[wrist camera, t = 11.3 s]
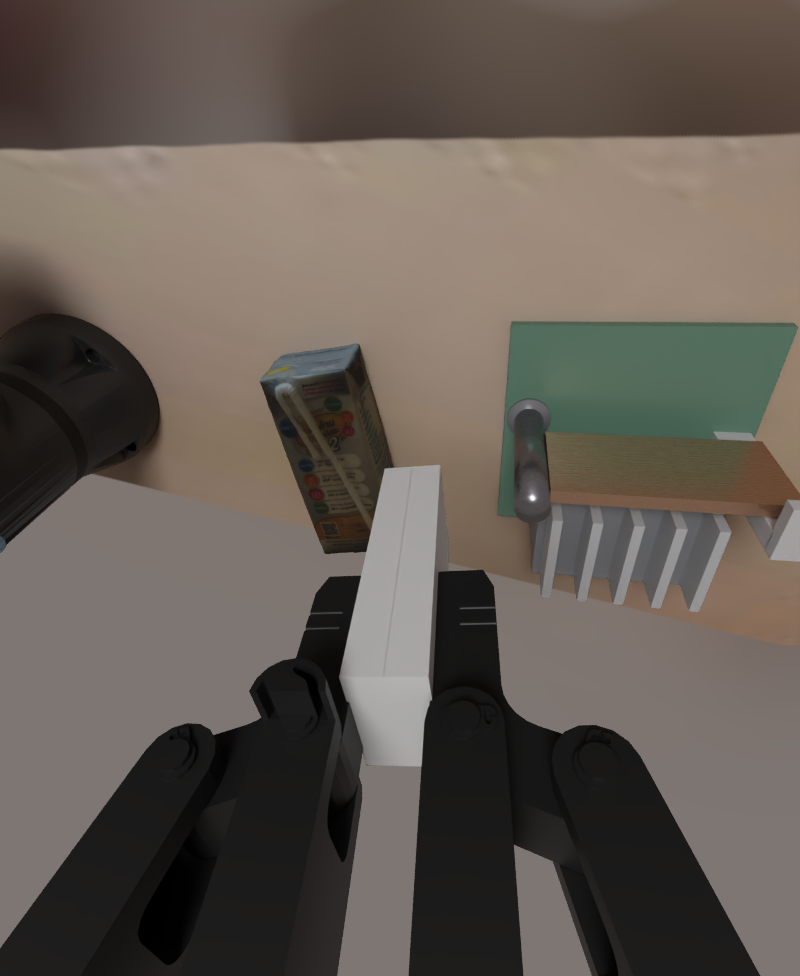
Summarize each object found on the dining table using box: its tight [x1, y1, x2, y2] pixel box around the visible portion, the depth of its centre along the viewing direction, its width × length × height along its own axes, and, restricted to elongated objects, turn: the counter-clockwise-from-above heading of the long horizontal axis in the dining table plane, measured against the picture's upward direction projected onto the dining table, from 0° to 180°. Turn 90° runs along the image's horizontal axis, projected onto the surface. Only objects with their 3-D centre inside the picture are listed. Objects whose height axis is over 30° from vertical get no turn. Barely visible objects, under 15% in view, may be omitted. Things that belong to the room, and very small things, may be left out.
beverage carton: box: [260, 344, 393, 554], centre depth 49 cm, size 8×19×7 cm, turn 12°
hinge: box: [514, 409, 800, 523], centre depth 39 cm, size 18×2×12 cm, turn 93°
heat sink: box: [498, 322, 800, 612], centre depth 40 cm, size 20×19×14 cm
